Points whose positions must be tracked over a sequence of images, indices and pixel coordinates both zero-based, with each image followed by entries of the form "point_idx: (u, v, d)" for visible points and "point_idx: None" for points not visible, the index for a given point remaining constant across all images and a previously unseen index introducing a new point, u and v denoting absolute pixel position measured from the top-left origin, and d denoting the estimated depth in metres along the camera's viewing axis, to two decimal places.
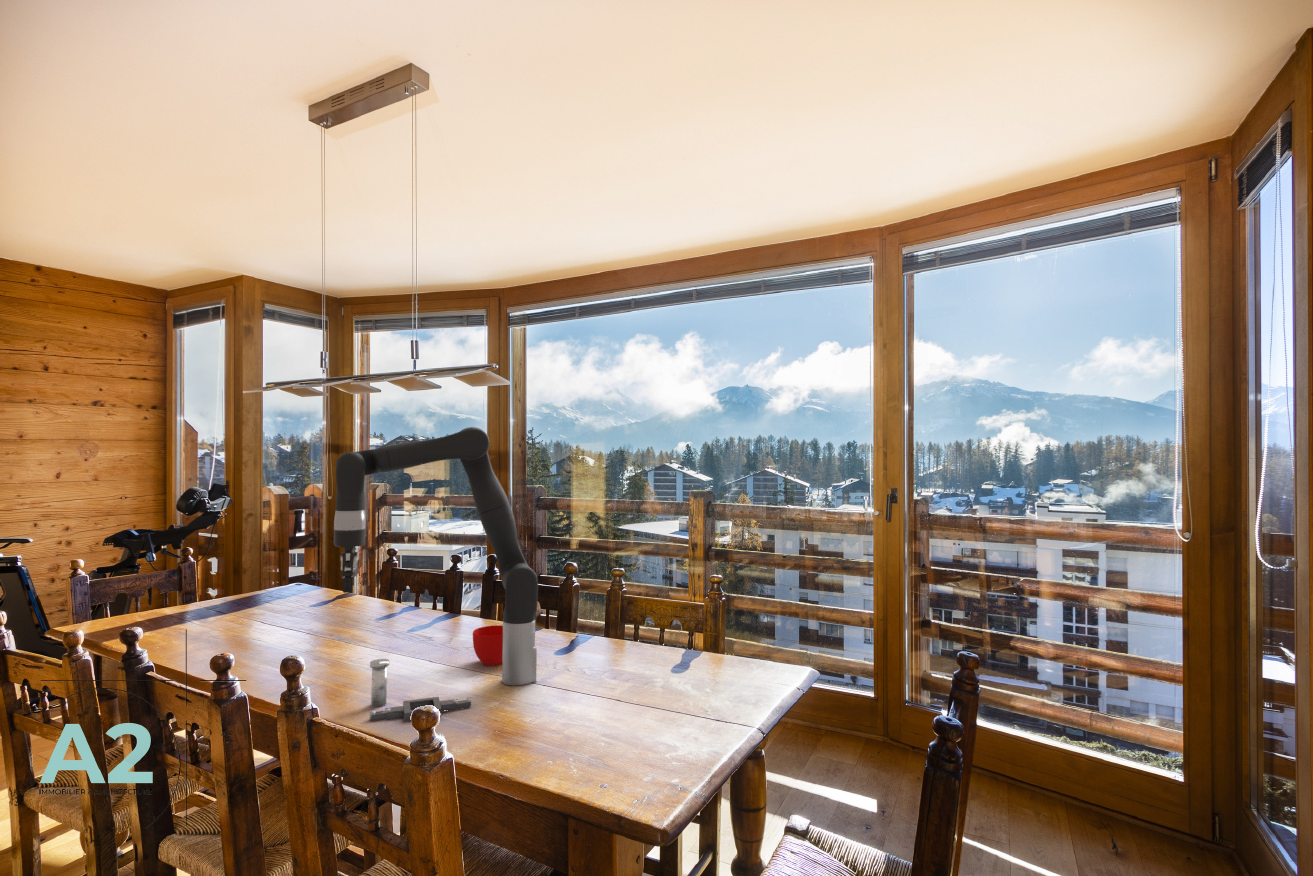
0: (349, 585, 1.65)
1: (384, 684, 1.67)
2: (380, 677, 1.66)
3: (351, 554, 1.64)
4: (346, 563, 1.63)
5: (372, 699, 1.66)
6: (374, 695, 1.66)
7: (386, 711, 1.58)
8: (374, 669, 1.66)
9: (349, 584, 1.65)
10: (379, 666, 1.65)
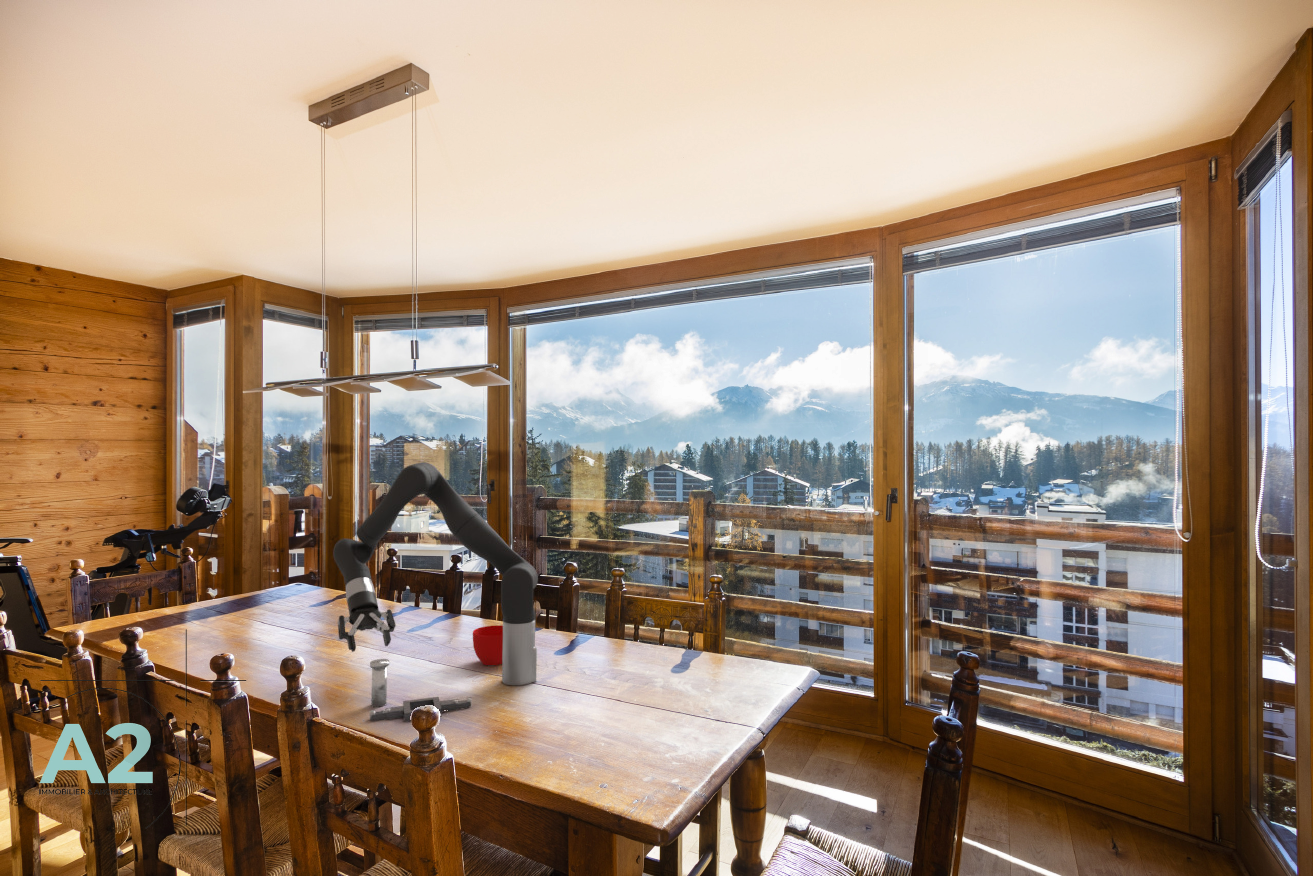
0: (348, 643, 1.73)
1: (384, 684, 1.67)
2: (380, 677, 1.66)
3: (339, 617, 1.76)
4: (338, 627, 1.75)
5: (372, 699, 1.66)
6: (374, 695, 1.66)
7: (386, 711, 1.58)
8: (374, 669, 1.66)
9: (348, 642, 1.73)
10: (379, 666, 1.65)
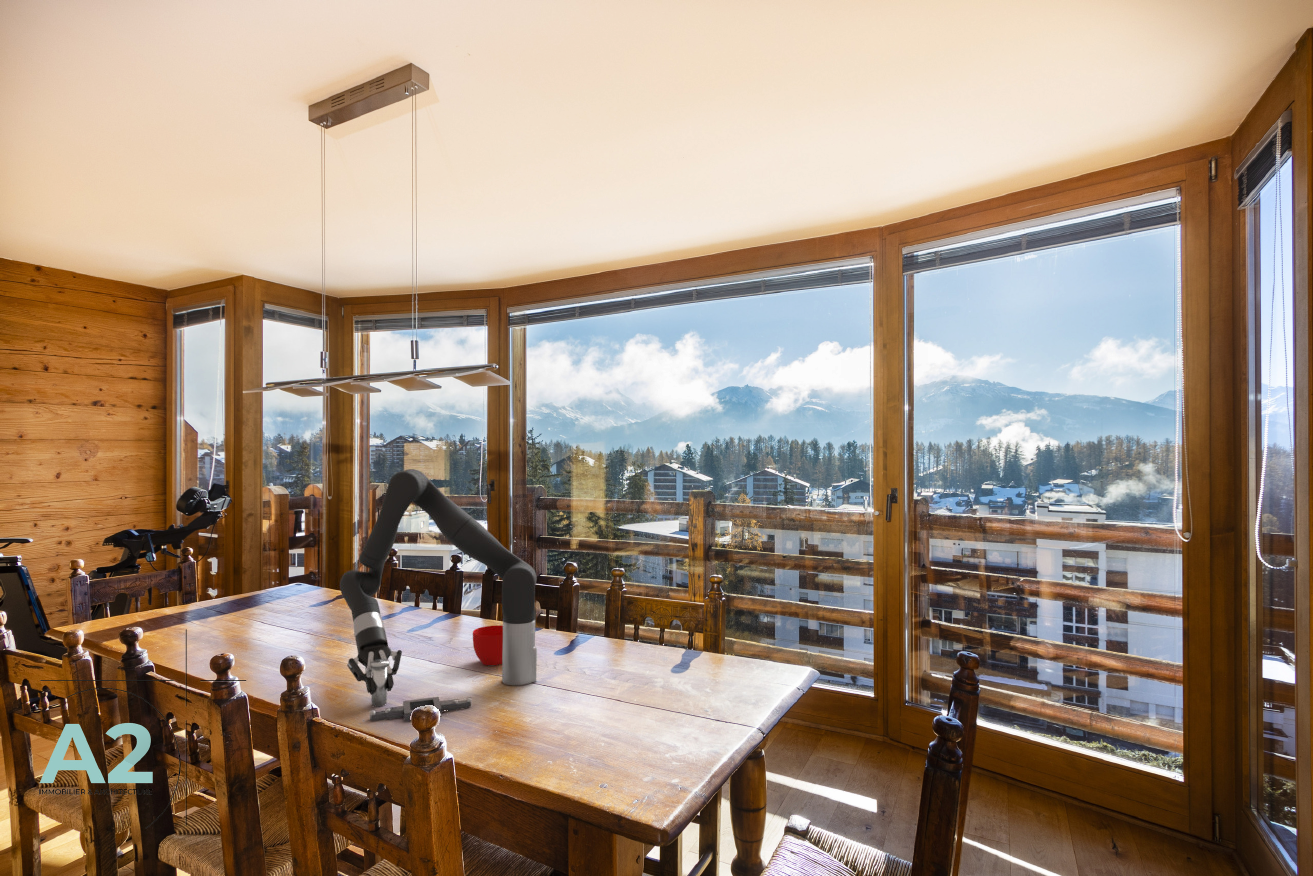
0: (367, 686, 1.65)
1: (384, 684, 1.67)
2: (380, 677, 1.66)
3: (348, 661, 1.67)
4: (352, 670, 1.67)
5: (372, 699, 1.66)
6: (374, 695, 1.66)
7: (386, 711, 1.58)
8: (374, 669, 1.66)
9: (367, 685, 1.65)
10: (379, 666, 1.65)
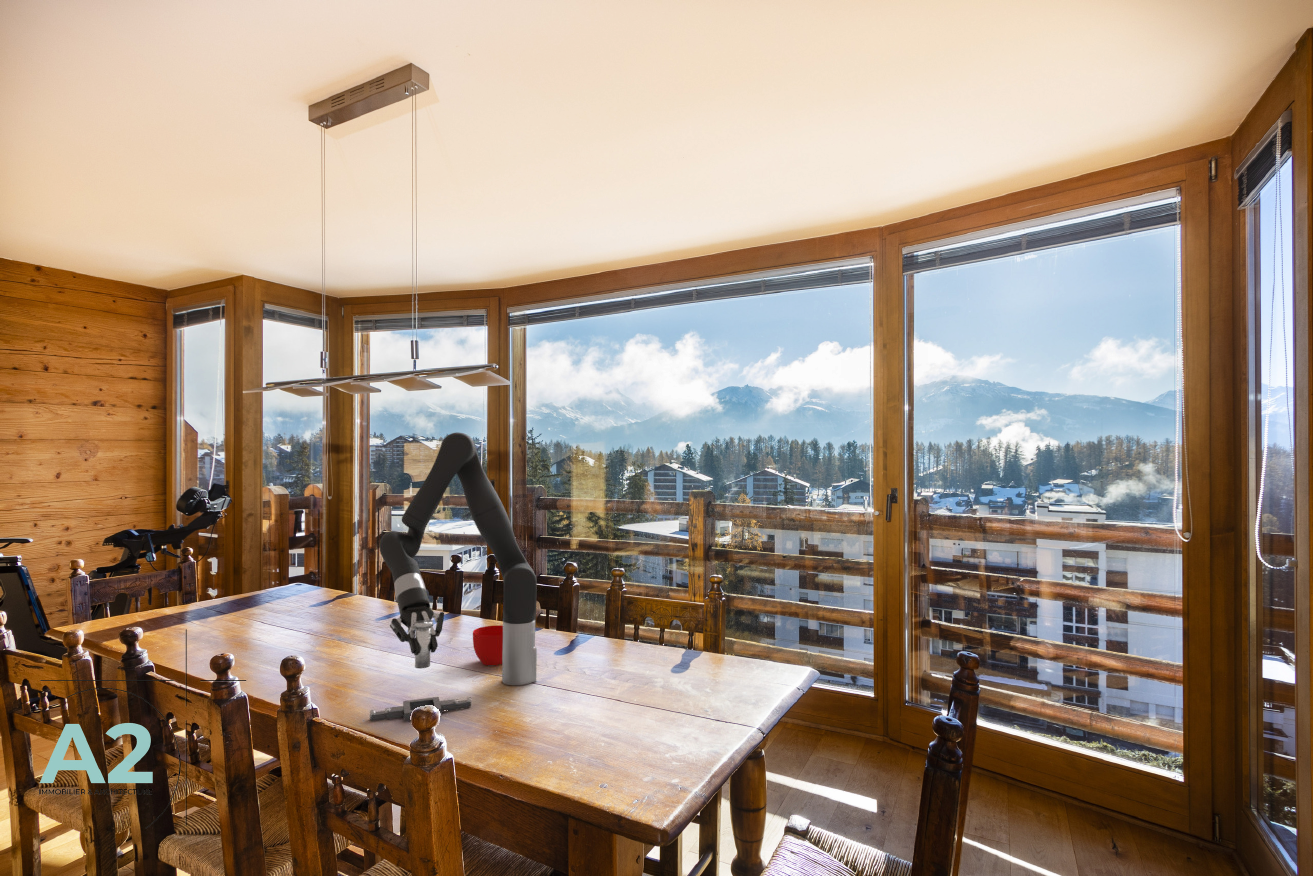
0: (411, 646, 1.60)
1: (428, 645, 1.62)
2: (424, 637, 1.61)
3: (391, 621, 1.62)
4: (395, 630, 1.62)
5: (416, 660, 1.61)
6: (418, 656, 1.61)
7: (386, 711, 1.58)
8: (418, 629, 1.61)
9: (411, 645, 1.60)
10: (423, 626, 1.61)
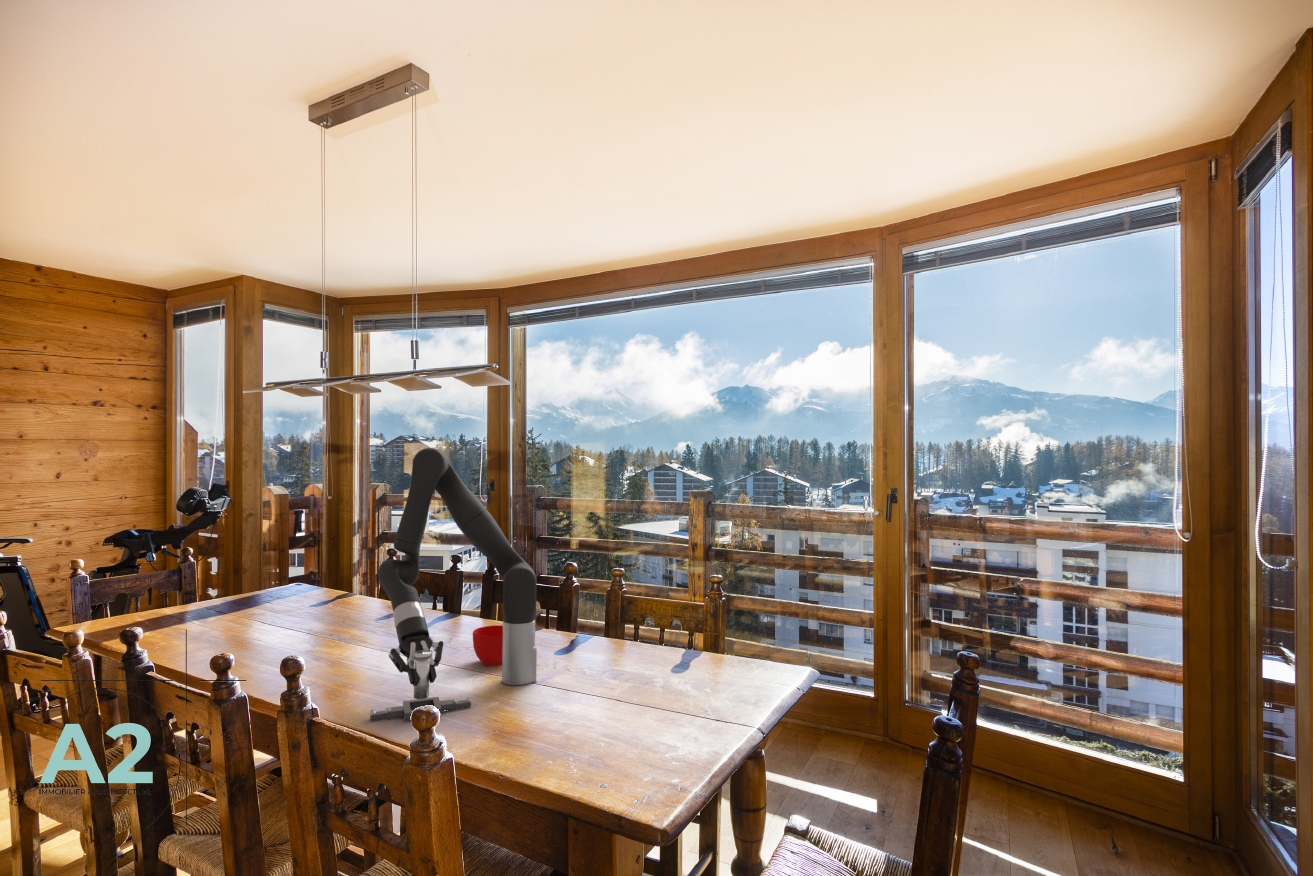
0: (410, 677, 1.60)
1: (427, 675, 1.61)
2: (423, 668, 1.61)
3: (390, 652, 1.62)
4: (394, 661, 1.61)
5: (415, 691, 1.61)
6: (417, 687, 1.60)
7: (386, 711, 1.58)
8: (417, 660, 1.61)
9: (410, 676, 1.60)
10: (422, 657, 1.60)
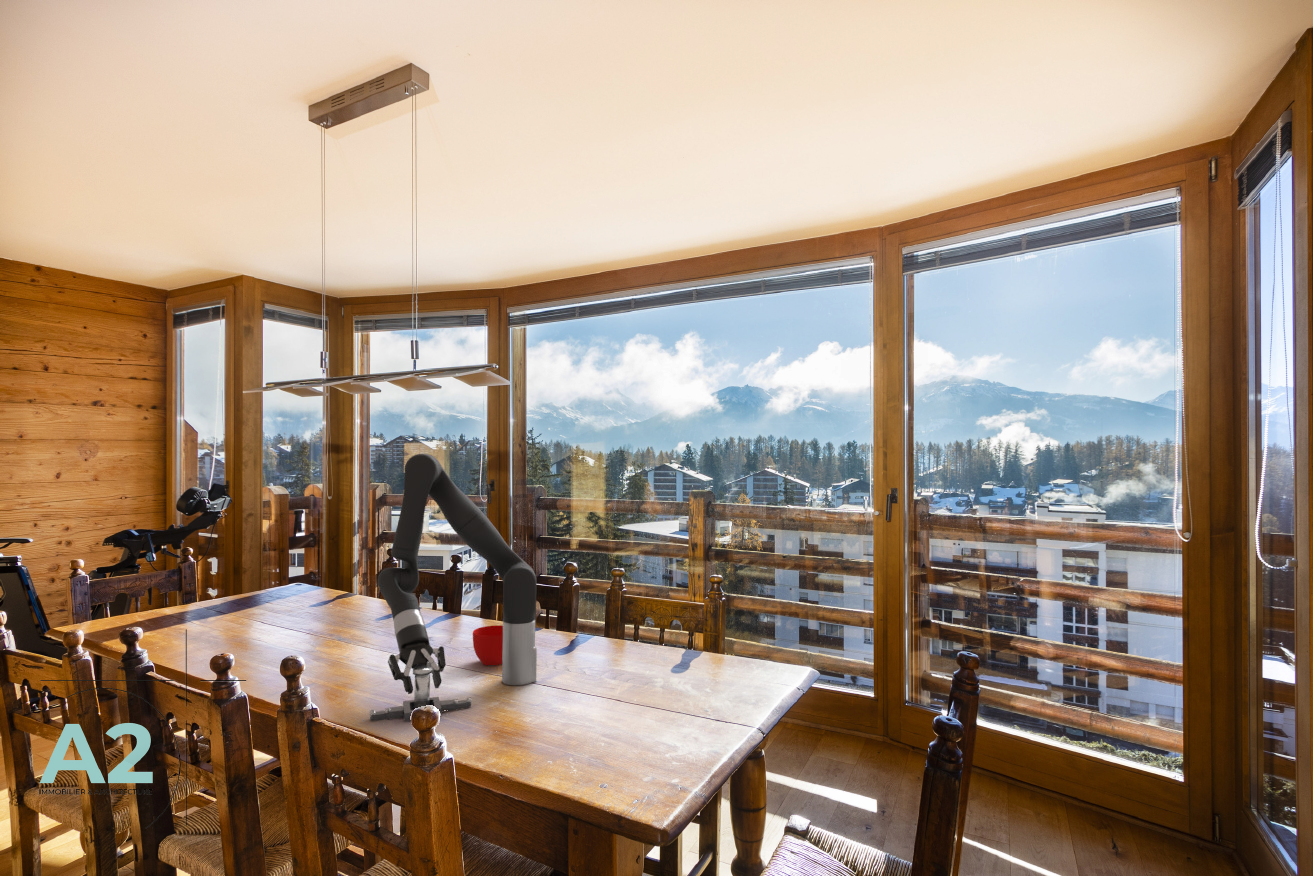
0: (405, 685, 1.59)
1: (427, 692, 1.61)
2: (423, 684, 1.61)
3: (389, 657, 1.62)
4: (391, 667, 1.61)
5: (415, 707, 1.61)
6: (417, 703, 1.60)
7: (386, 711, 1.58)
8: (417, 676, 1.61)
9: (405, 684, 1.59)
10: (422, 673, 1.60)
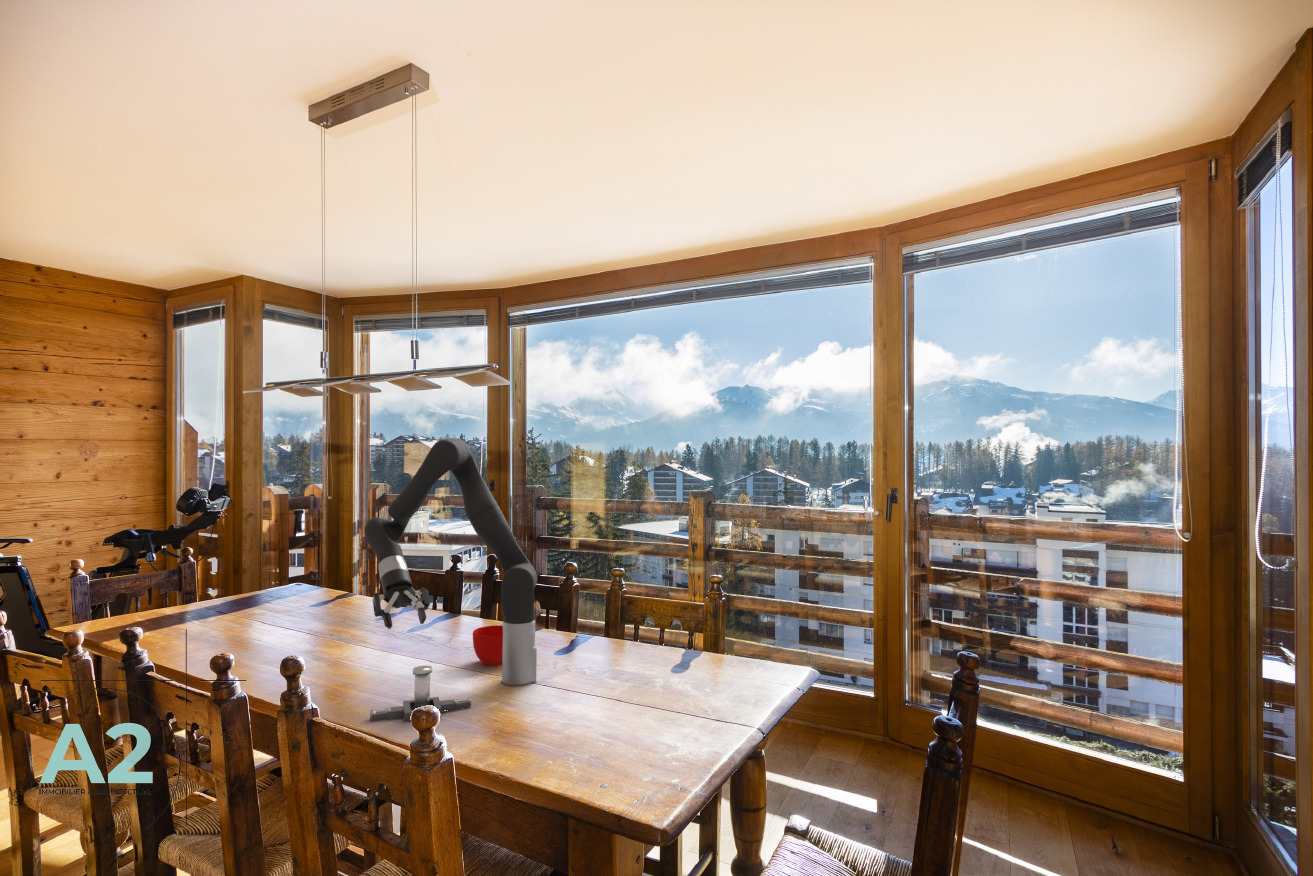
0: (385, 620, 1.71)
1: (427, 692, 1.61)
2: (423, 684, 1.61)
3: (374, 595, 1.75)
4: (374, 604, 1.74)
5: (415, 707, 1.61)
6: (417, 703, 1.60)
7: (386, 711, 1.58)
8: (417, 676, 1.61)
9: (384, 619, 1.71)
10: (422, 673, 1.60)
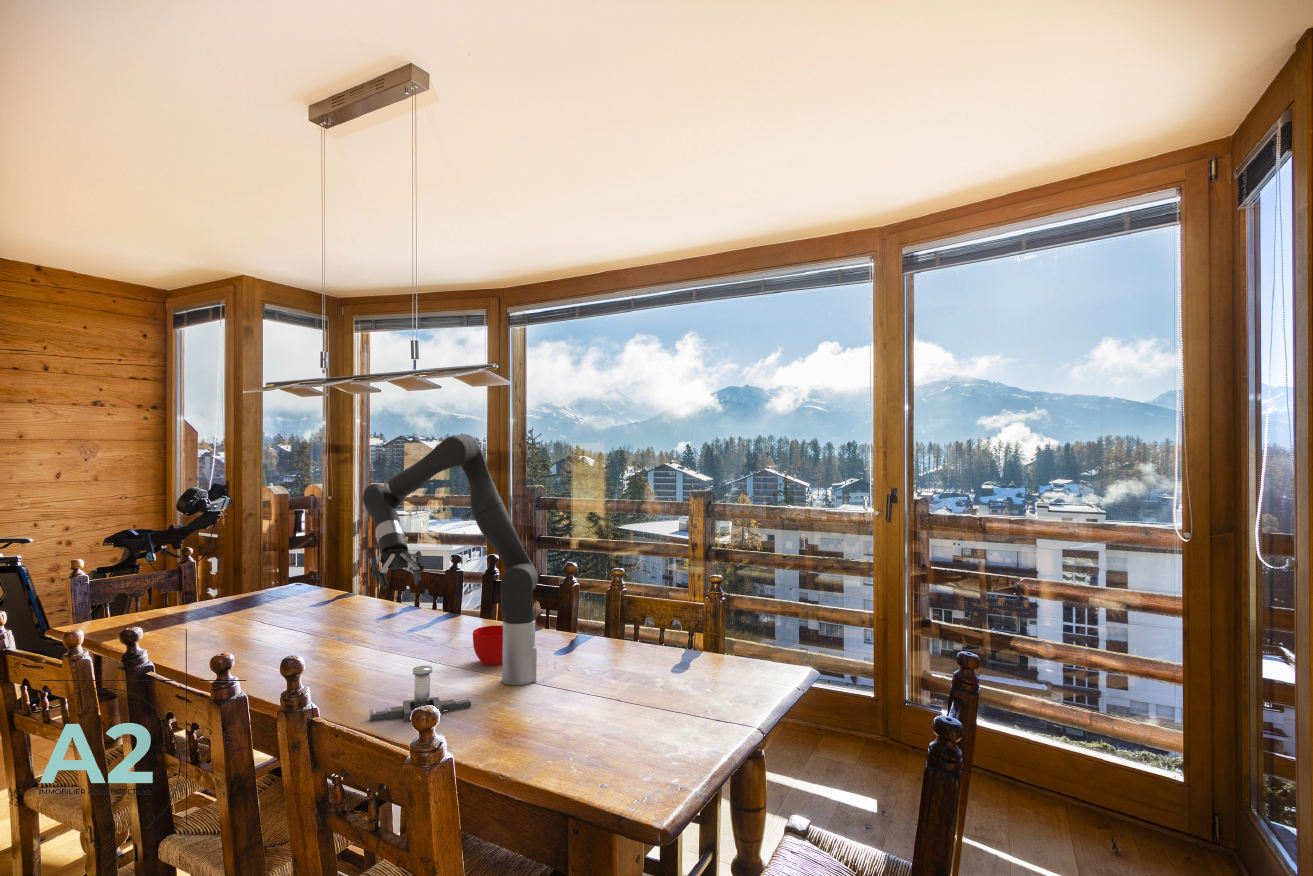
0: (381, 580, 1.77)
1: (427, 692, 1.61)
2: (423, 684, 1.61)
3: (371, 556, 1.81)
4: (370, 565, 1.80)
5: (415, 707, 1.61)
6: (417, 703, 1.60)
7: (386, 711, 1.58)
8: (417, 676, 1.61)
9: (381, 579, 1.77)
10: (422, 673, 1.60)
